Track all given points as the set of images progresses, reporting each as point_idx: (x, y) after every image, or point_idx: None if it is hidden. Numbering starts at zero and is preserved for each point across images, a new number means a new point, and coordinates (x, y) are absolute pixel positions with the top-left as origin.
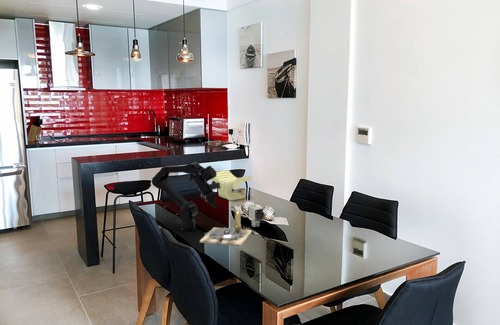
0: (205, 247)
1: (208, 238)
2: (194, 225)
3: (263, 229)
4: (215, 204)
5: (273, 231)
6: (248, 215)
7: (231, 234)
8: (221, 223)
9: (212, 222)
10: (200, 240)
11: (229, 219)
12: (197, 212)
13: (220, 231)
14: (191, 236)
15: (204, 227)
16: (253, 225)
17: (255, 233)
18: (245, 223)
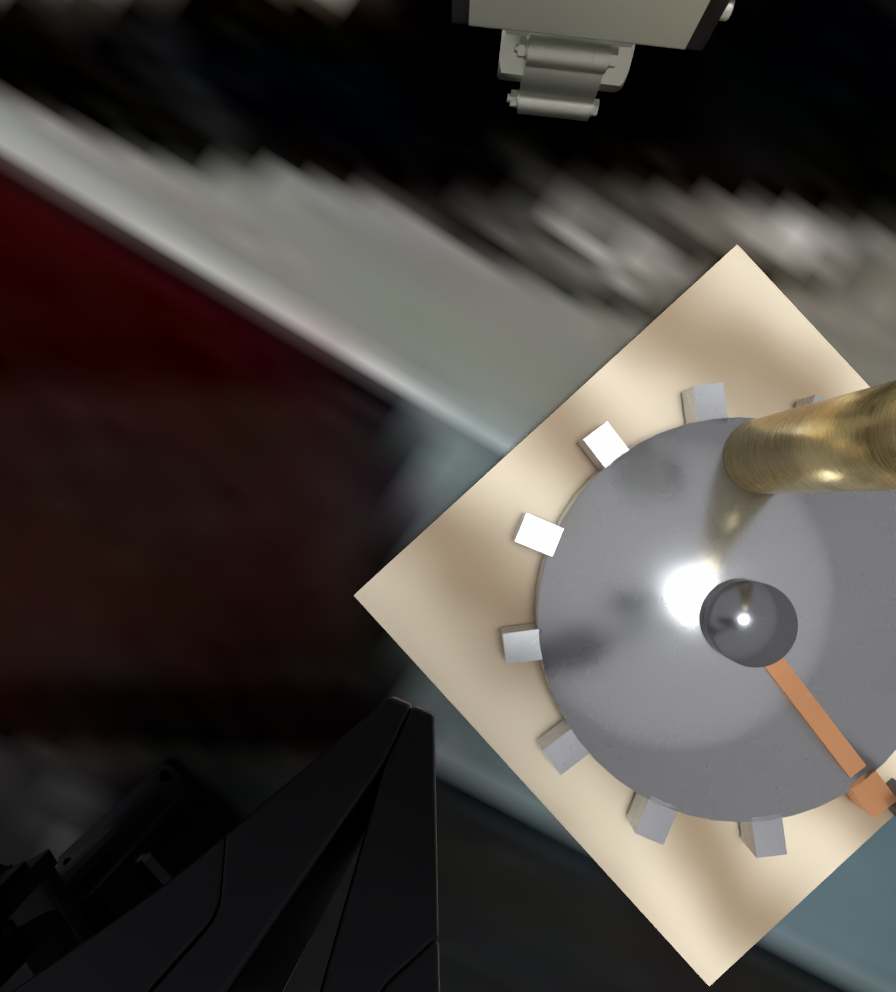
0: (877, 985)
1: (701, 862)
2: (205, 838)
3: (724, 81)
4: (433, 842)
5: (857, 25)
6: (456, 2)
7: (826, 597)
8: (205, 389)
9: (97, 466)
10: (710, 978)
11: (112, 210)
12: (61, 944)
13: (636, 656)
14: (448, 950)
15: (227, 655)
16: (568, 109)
17: (795, 250)
18: (387, 130)
